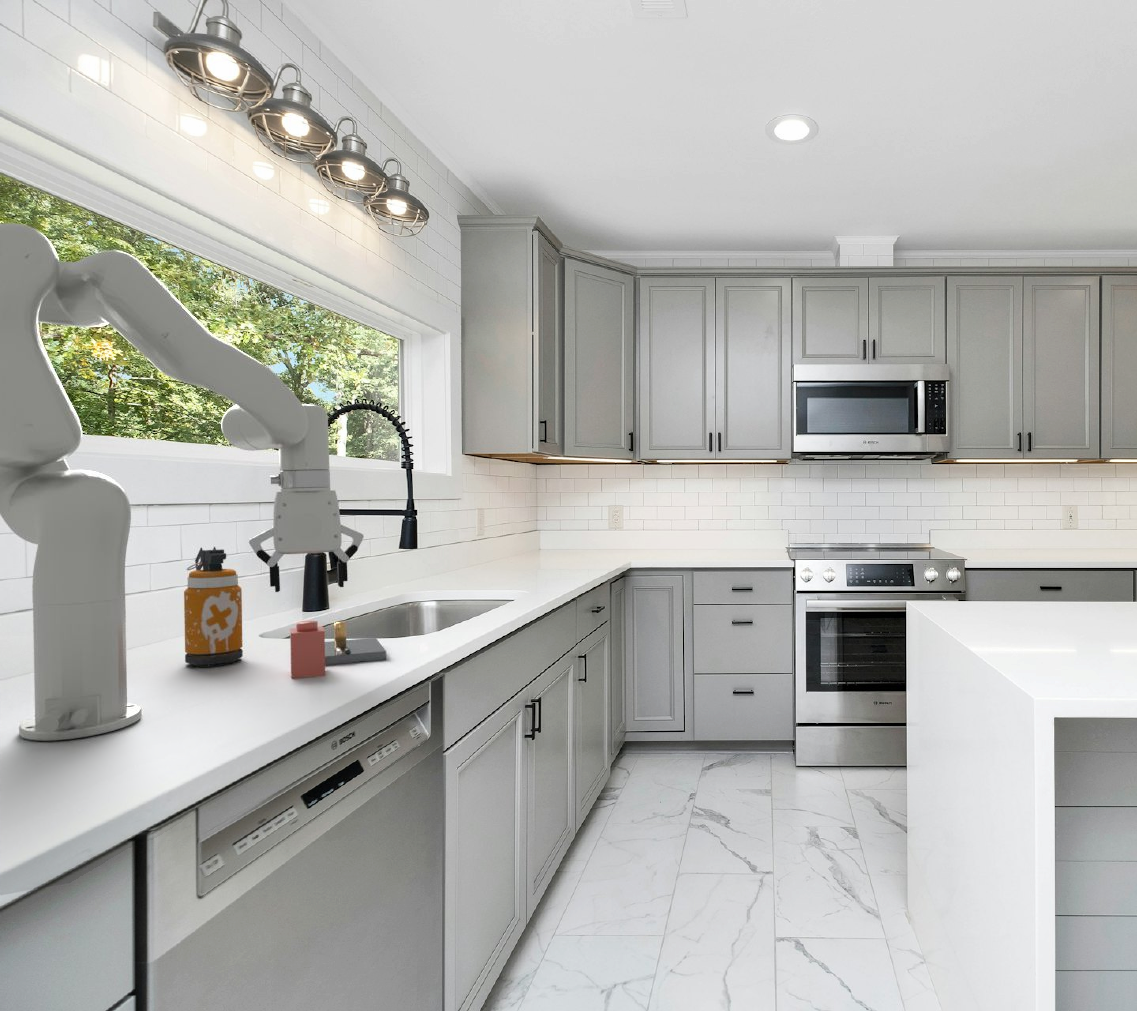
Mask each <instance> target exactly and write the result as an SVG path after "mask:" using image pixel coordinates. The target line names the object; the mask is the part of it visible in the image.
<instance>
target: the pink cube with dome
mask: <svg viewBox="0 0 1137 1011" xmlns="http://www.w3.org/2000/svg"><path fill="white" fill-rule="evenodd" d="M318 624H319V623H318V621H317V620H302V621H298V622H296V628H295V627H294V628H290V629H289V633H290V634H289V636H290V638H289V641H290V675H291V676H290V677H291V679H299V678H309V677H311V678H312V677H318V676H320V677H321V676H326V665H325V642H326V641H325V640H326V639H325V637H326V636H325V635H326V634H325V629H324V626H321V625H320V626H318Z"/></svg>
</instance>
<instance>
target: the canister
mask: <svg viewBox="0 0 1137 1011" xmlns="http://www.w3.org/2000/svg"><path fill="white" fill-rule="evenodd" d="M226 559H227V553H225V549H221V548H220V549H217V548H216V546H214V547H213V549H205V550H204V549H203V547H200V549H199V551H198V553H197V555H196V557H195V559H194V564H192V565H190V566H189V567H186V571H190V572H189V573H188V576H187V588H186V589H185V590H184V591H183V602H184V603H183V604H184V605H183V608H184V609H183V610H184V611H183V613H184V652H185V654H184V660H185V663H186V664H189V665H193V666H194V667H201V668H204V667H205V668H206V667H207V668H208V667H211V668H212V667H220V666H224V665H229V664H232V663H234V662H235V661H236V660H239V659H242V658H243V651H244V650H243V649H242V648H243V599H242V598H243V596H242V595H243V592H242V587H241V586H240V585H239V578H238V577H239V576H238V573H237V570H235V569H232V568H223V565H222V564H224V560H226ZM193 569H195V570H193ZM191 570H193V571H191Z"/></svg>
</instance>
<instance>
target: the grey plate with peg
mask: <svg viewBox="0 0 1137 1011" xmlns="http://www.w3.org/2000/svg"><path fill="white" fill-rule="evenodd" d="M333 623H334V624H333V628H334V631H333V632H334V636H333V637H334V640H332V641H331V640H330V641H325V666H333V665H343V664H344V663H345V664H353V662H356V663H360V662H359V661H367V662H377V661H385V660H387V651H386V649H385V648H384V646H383V645H382V644H381V642H380V641H379V640H378V639H377V638H376V637H369V638H356V639H355V638H354V639H347V622H346V621H335V622H333ZM345 664H344V665H345Z"/></svg>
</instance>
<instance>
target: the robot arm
mask: <svg viewBox="0 0 1137 1011" xmlns="http://www.w3.org/2000/svg"><path fill="white" fill-rule="evenodd" d="M39 323H42V324H49V325H50V324H51V325H58V326H66V327H67V326H68V327H81V328H96V327H97V328H98V327H103V326H107V325H110V326H111V327H112V329H114V330H115V331H116V332H118V334H119V335H121V336H122V337H123V338H124V339H125V340H126V341H127V342H128V343H129V344H131V345H132V346H133V347H134V348H135V349H136V350H137V351H138V352H139V353H140V354H141V355H143V357H144V358H145V359H147V360H148V361H149V362H150V363H151V364H152V365H153V366H154V367H155V368H156V369H157V370H158V371H159V372H161V373H162V374H163V375H165V376H167V377H169V378H171V379H174V380H176V381H179V382H182V383H185V384H188V385H193V386H195V387H199V388H203V389H206V390H208V391H212V392H214V393H215V394H218V395H220V396H222V397H224V398H225V399H227V400H229V401H230V402H232V403H234V404H235V405H233V406H231V407H230V408H228V409H227V411H226V412H225V413H224V414H223V417H222V419H221V424H220V426H221V427H220V428H221V431H222V434H223V437H224V438H225V439H226V441H227V442H228V443H229V444H230V445H232V446H233V447H236V448H238V449H240V450H243V451H249V452H250V451H263V450H270V449H278V455H279V456H278V457H279V471H280V472H279V473H278V474H276V475H270V485H275V486H278V487H280V491H275V495H274V501H273V502H274V503H273V504H274V505H273V523H272V524H273V525H272V527H271V528H269V529H267V530H265V531H263V532H261V533H260V534H257V535H255V536H254V537H252V538H250V539H249V540H248V541H249V542H248V544H249V546H250V547H251V549H252V551H254V553H255V555H256V556H257V558H258V559H260V560H261V561H262V562H264V563H265V565H267V566H268V567H269V583H270V584H269V586H270V587H274V590H275V592H274V593H279V592H280V591H281V584H280V583H281V582H280V580H281V579H280V566H279V565H278V564H279V563H278V562H279V561H280V560H281V558H282V557H283V556H284V555H300V554H303V555H304V554H319V553H320V554H321V553H330V552H331V553H332V552H333V553H334V554H335V556H336V557H338V559H337V560H338V561H337V562H336V572H337V573H336V574H337V586H338V588H339V587H340V588H344V587H345V585H344V583H345V582H348V562H349V560H350V559H351V558H352V557H353V556H354V554H356V553H357V552H358V550H359V547H360V546H361V543H362V541H363V540H364V537H365V536H364V534H363V533H361V532H358V531H357V530H355V529H352V528H349V527H348V526H346V525H343V524H341V514H340V506H339V501H338V500H339V499H338V496H337V491H336V489H335V490H331V473H330V472H331V471H330V448H329V445H330V444H329V421H328V420H329V418H328V413H327V410H326V409H325V408H324V407H322V406H320V405H316V404H305V403H302V402H301V401H300V399H299V398H298V397H297V396H296V394H295V393H294V392H293V391H292V390H291V389H290V388H289V387H288V386H287V385H286V384H285V383H284V382H283V380H281V378H280V377H279V376H278V375H277V374H275V373H274V371H272V370H271V369H270V368H268V367H267V366H266V365H264V364H263V363H262V362H260V361H259V360H257V359H256V358H254V357H252V356H251V355H248V354H247V353H245V352H243V351H242V350H241V349H239V348H237V347H235V346H234V345H232V344H230V343H228V342H226V341H224V340H223V339H221V338H218V337H217V336H215V335H214V334H213V333H212V332H210V331H209V330H208V329H207V328H206V327H205V326H204V325H203V324H202V323H201V322H200V321H199V320H198V319H197V318H196V316H194V314H192V313H191V312H190V311H189V310H188V308H186V307H185V306H184V305H183V304H182V302H181V301H179V300H178V299H177V297H176V296H174V294H173V293H172V292H171V291H170V290H169V288H167V287H166V286H165V285H164V284H163V283H162V282H161V281H160V280H159V279H158V277H156V276H155V275H154V274H153V273H152V272H151V271H150V270H149V269H148V268H147V267H146V266H145V265H144V263H142V262H141V261H140V260H139V259H137V257H135V256H133V255H131V254H130V253H127V252H125V251H121V250H112V249H110V250H103V251H100V252H95V253H93V254H90V255H88V256H86V257H84V258H81V259H79V260H77V261H62V260H60V259H59V256H58V254H57V251H56V248H55V247H54V246H53V243H52V242H51V241H50V240H49V239H48V238H47V237H46V235H44V234H43V233H42V232H41V231H40V230H38V229H36V228H34V227H32V226H30V225H27V224H22V223H17V222H16V223H15V222H6V223H1V224H0V516H1V518H2V519H3V521H4V523H5V524H6V525H7V527H8V528H9V529H10V530H11V531H12V532H13V533H14V534H15V535H16V536H17V537H19V538H20V539H22V540H24V541H25V542H28V543H31V544H35V545H37V547H36V548H37V549H36V553H35V558H34V564H33V572H32V589H31V590H32V591H31V592H32V620H33V621H32V624H33V626H32V628H33V630H32V631H33V670H34V673H33V677H34V679H33V680H34V684H33V685H34V686H33V687H34V716H31V717H29V718H27V719H25V720H24V721H23V722H22V723H20V724H19V727H18V730H19V731H18V734H19V736H20V737H21V738H23V739H26V740H29V741H30V740H31V741H44V742H45V741H48V742H49V741H63V740H64V741H65V740H73V739H80V738H87V737H91V736H92V737H93V736H97V735H101V734H102V735H103V734H106V733H109V732H110V733H111V732H113V731H117V730H120V729H123V728H126V727H129V726H131V725H133V724H134V723H136V722H138V721H139V720H140V719H141V718H142V716H143V715H142V707H141V706H139V705H137V704H134V703H129V702H128V678H127V676H128V675H127V674H128V671H127V670H128V669H127V666H128V665H127V620H126V618H127V617H126V575H125V574H126V559H127V558H126V555H127V549H128V548H127V547H128V541H129V537H130V536H129V535H130V531H131V521H132V509H131V503H130V501H129V498H128V496H127V494H126V492H125V490H124V489H123V487H122V486H121V485H120V484H119V483H118V482H116V481H115V479H114V478H113V479H112V478H111V477H110V476H107V475H105V474H103V473H101V472H100V473H99V472H97V471H94V470H93V471H92V470H85V469H75V470H74V469H72V470H71V469H70V467H69V464H68V463H67V461H66V459H67V458H68V457H70V456H71V455H72V454H73V453H75V451H76V450H77V449H78V448H79V446H80V444H81V442H82V438H83V430H82V424H81V421H80V418H79V416H78V414H77V411H76V410H75V408H74V406H73V404H72V402H71V401H70V398H69V396H68V394H67V393H66V390H65V389H64V387H63V384H62V382H61V380H60V379H59V377H58V375H57V373H56V371H55V369H54V367H53V365H52V362H51V360H50V358H49V356H48V354H47V351H46V349H45V346H44V343H43V341H42V338H41V335H40V331H39V330H40V329H39ZM342 534H343V535H345V536H347V537H350V538H352V542H351V544H350V545H349V546H348V547H347V549H345V551H344V550H343V549H342V548H341V547H342ZM272 537H273V548H274V550H275V551H274V552H273V553H272V554H271V555H270V554H268V553H267V552H266V551H265V550H264V548H263V546H261V545H262V543H264V542H265V541H267V540H268V539H271V538H272Z"/></svg>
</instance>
